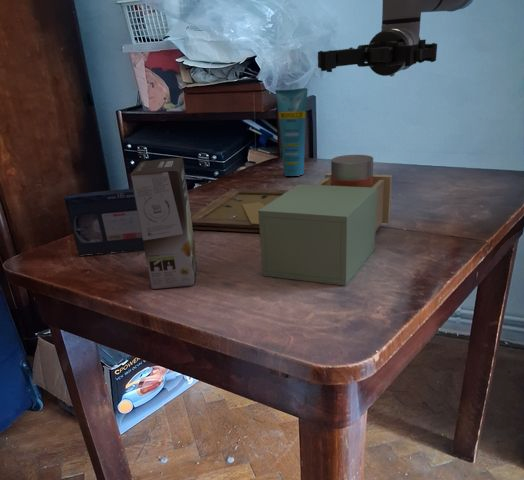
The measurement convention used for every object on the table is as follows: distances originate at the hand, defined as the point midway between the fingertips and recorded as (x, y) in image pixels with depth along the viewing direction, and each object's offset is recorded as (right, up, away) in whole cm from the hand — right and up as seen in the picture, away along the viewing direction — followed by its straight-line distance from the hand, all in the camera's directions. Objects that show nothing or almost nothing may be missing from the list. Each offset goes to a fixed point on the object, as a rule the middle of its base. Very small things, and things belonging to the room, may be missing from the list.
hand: (364, 59), depth 85 cm
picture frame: (-18, -19, +21) cm, 34 cm away
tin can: (-1, -25, +4) cm, 26 cm away
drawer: (-1, -25, +7) cm, 26 cm away
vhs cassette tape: (-38, -29, +7) cm, 49 cm away
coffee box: (-29, -35, -5) cm, 46 cm away
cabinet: (-7, -33, -4) cm, 34 cm away
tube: (-8, -4, +46) cm, 47 cm away
